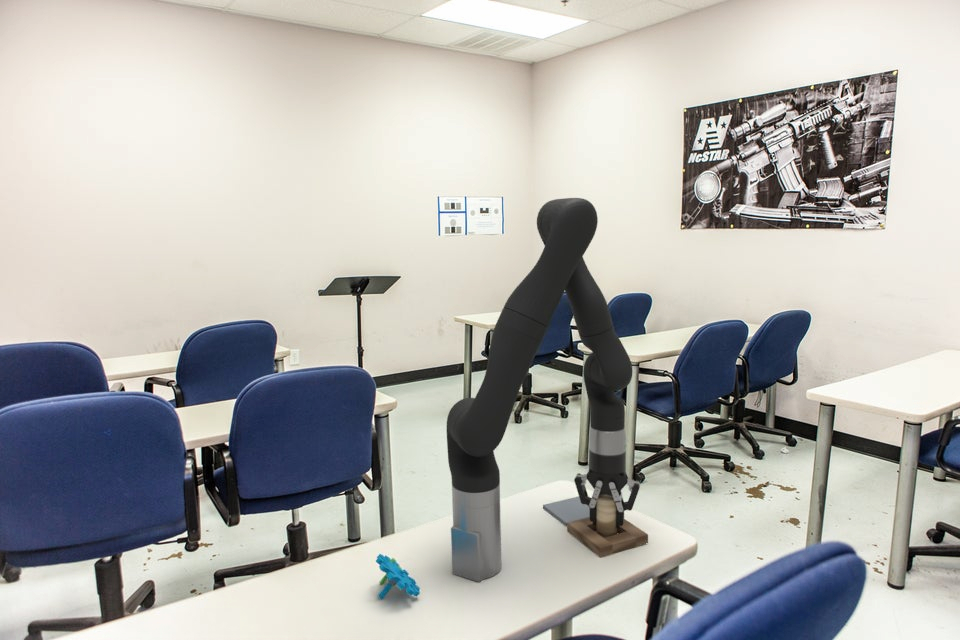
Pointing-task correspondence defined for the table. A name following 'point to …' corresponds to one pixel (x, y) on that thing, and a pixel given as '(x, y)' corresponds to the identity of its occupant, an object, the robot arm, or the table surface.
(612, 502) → the peg
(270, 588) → the table surface
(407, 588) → the blue branched plastic piece
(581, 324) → the robot arm
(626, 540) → the pocket block
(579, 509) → the mat
